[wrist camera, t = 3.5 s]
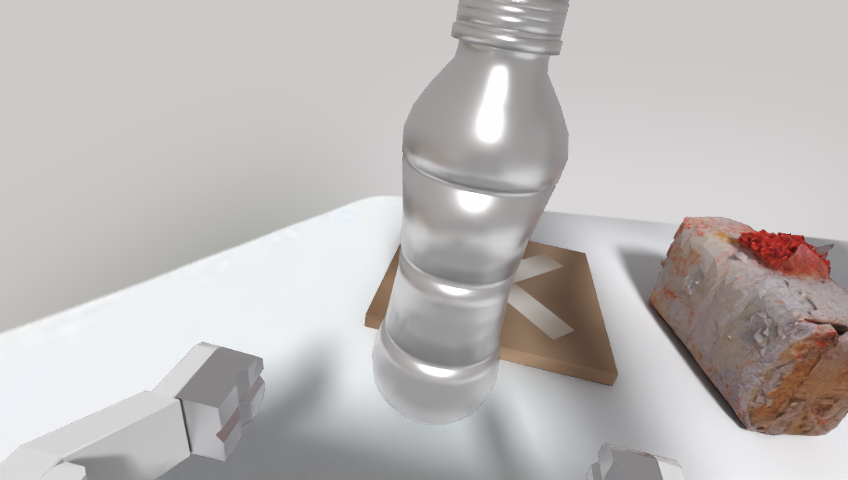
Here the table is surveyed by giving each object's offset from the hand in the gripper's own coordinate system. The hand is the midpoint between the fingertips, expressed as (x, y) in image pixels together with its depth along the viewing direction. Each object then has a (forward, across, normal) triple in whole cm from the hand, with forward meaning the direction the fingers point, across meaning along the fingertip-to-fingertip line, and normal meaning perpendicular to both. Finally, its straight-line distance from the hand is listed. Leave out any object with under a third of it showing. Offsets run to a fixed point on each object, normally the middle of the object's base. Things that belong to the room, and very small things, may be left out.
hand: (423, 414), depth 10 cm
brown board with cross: (+22, -3, +11) cm, 25 cm away
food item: (+20, -20, +11) cm, 31 cm away
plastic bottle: (+10, 0, +11) cm, 15 cm away
